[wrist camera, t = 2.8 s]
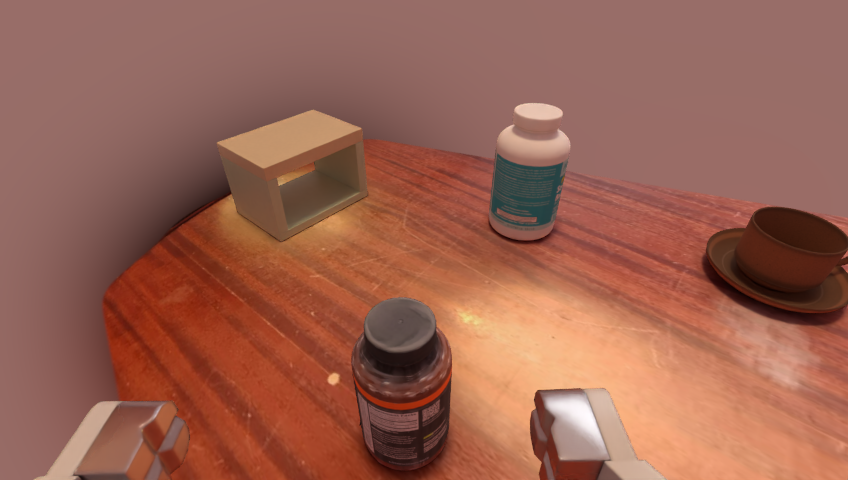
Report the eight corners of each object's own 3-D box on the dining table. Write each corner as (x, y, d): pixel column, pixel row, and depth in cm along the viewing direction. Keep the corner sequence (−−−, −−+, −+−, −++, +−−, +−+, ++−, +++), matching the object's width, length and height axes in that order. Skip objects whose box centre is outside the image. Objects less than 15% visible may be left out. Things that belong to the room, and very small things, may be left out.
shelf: (281, 242, 48) (263, 168, 43) (237, 212, 53) (216, 142, 48) (368, 195, 56) (362, 128, 51) (323, 173, 61) (313, 109, 55)
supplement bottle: (387, 383, 34) (379, 272, 27) (460, 411, 32) (470, 300, 25) (346, 453, 30) (324, 342, 23) (427, 490, 28) (429, 382, 21)
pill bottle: (562, 241, 48) (591, 123, 40) (497, 246, 48) (512, 127, 40) (540, 205, 54) (561, 96, 46) (481, 209, 54) (492, 99, 46)
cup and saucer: (768, 236, 49) (796, 188, 46) (877, 313, 40) (924, 261, 36) (674, 250, 47) (695, 201, 44) (765, 335, 38) (803, 282, 34)
